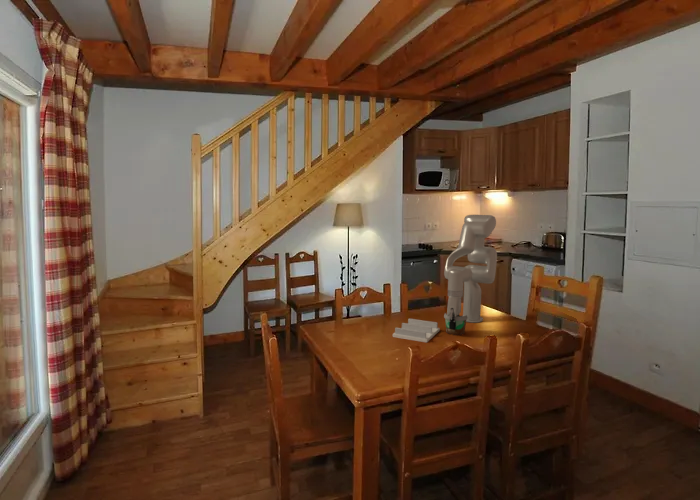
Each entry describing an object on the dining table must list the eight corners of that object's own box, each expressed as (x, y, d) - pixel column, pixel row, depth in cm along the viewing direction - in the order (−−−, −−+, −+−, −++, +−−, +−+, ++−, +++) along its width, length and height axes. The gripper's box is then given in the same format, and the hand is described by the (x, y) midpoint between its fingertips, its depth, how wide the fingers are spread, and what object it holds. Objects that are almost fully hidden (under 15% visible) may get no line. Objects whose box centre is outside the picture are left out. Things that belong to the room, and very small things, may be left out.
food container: (440, 333, 232) (441, 314, 231) (443, 330, 238) (444, 312, 236) (464, 337, 227) (465, 318, 225) (467, 334, 232) (468, 315, 231)
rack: (407, 325, 246) (407, 317, 245) (439, 330, 237) (439, 322, 237) (392, 336, 227) (392, 328, 227) (426, 342, 219) (427, 333, 218)
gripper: (452, 289, 239) (451, 322, 241) (443, 295, 223) (442, 330, 226) (466, 290, 235) (465, 324, 237) (458, 297, 220) (456, 333, 222)
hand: (454, 327), depth 232 cm, fingers closed on food container, 6 cm apart
